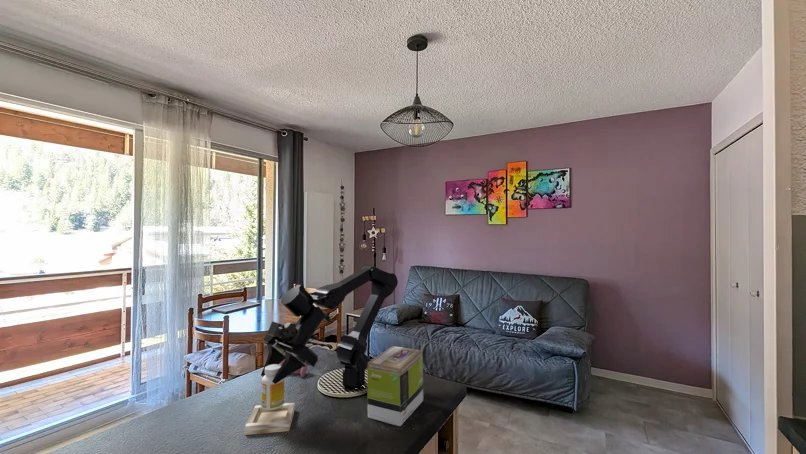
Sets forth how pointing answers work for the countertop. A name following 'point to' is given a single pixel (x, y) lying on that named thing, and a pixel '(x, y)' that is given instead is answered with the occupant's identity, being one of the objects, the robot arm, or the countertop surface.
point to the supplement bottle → (272, 389)
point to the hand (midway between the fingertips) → (267, 379)
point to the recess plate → (270, 419)
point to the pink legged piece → (299, 371)
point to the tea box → (395, 384)
